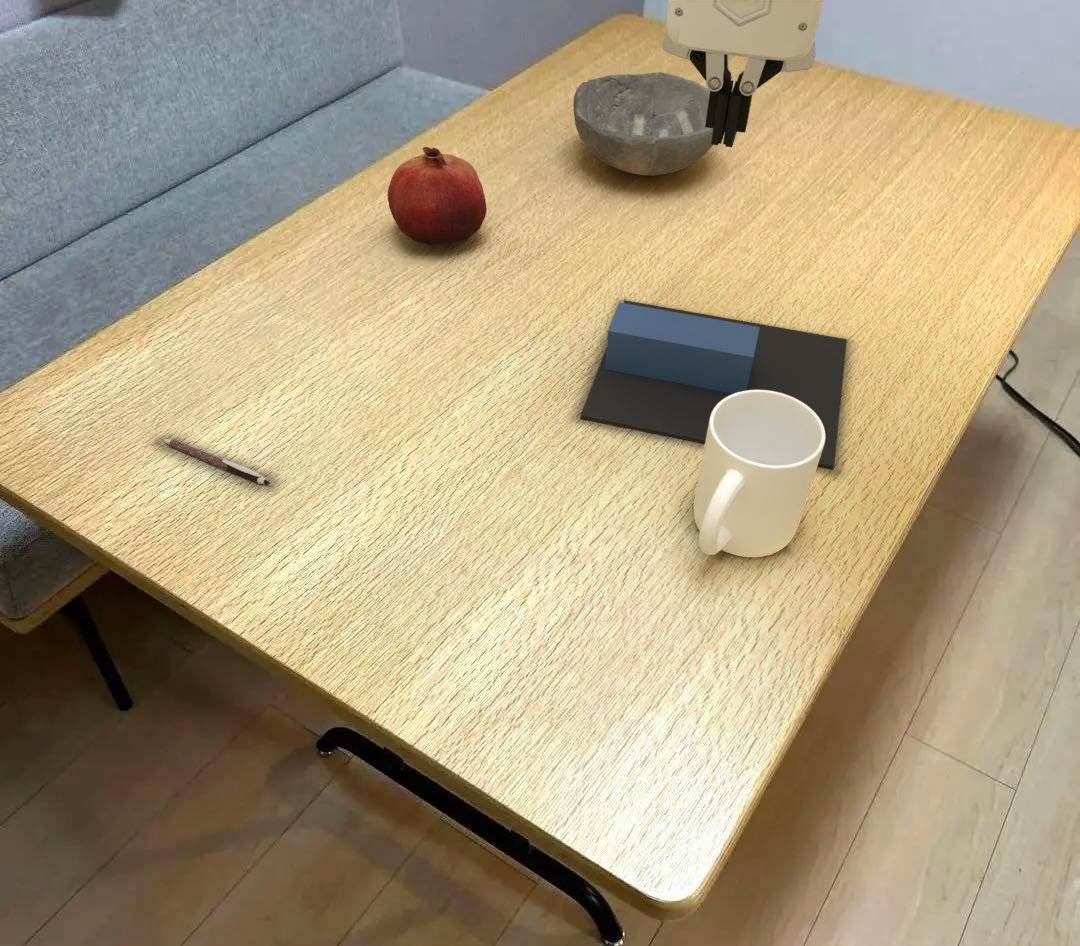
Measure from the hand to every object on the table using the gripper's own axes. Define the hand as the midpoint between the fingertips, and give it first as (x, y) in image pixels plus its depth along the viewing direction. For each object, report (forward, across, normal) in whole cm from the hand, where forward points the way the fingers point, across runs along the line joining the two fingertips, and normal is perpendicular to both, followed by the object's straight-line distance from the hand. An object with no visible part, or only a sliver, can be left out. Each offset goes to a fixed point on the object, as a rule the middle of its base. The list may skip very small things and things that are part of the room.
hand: (724, 137), depth 72 cm
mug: (+23, +7, -19) cm, 31 cm away
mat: (+23, +3, 0) cm, 23 cm away
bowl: (+23, -12, +38) cm, 46 cm away
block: (+20, +6, 0) cm, 21 cm away
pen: (+24, -36, -23) cm, 49 cm away
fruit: (+23, -30, +15) cm, 41 cm away
